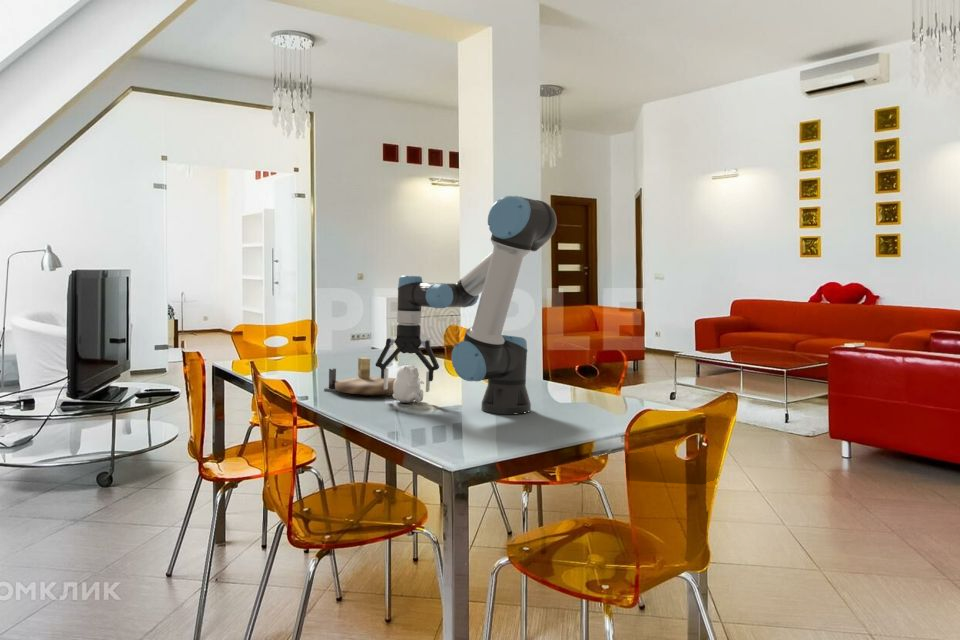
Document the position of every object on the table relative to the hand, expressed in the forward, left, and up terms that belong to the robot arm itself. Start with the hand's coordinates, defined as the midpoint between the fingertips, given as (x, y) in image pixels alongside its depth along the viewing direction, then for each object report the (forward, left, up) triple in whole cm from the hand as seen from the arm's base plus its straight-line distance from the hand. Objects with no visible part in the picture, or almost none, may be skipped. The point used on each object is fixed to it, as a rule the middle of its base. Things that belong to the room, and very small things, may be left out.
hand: (406, 390), depth 219 cm
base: (+20, -16, -4) cm, 26 cm away
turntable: (+15, -16, -2) cm, 22 cm away
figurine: (0, 0, -4) cm, 4 cm away
